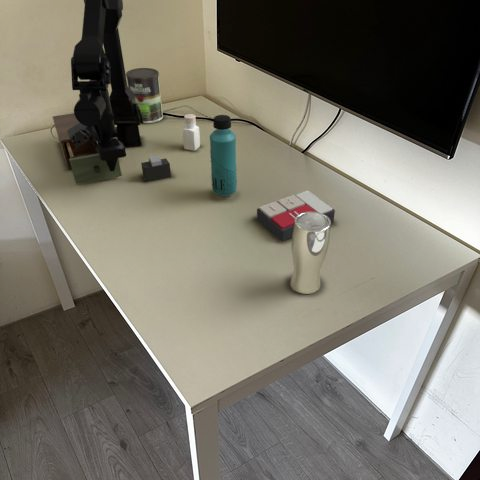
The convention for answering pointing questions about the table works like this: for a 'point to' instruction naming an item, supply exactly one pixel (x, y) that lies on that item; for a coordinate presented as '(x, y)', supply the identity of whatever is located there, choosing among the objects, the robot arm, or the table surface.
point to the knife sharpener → (156, 169)
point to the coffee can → (146, 92)
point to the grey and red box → (291, 213)
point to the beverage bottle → (223, 157)
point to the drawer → (89, 163)
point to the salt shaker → (191, 133)
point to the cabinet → (64, 132)
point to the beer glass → (309, 250)
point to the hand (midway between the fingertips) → (112, 170)
